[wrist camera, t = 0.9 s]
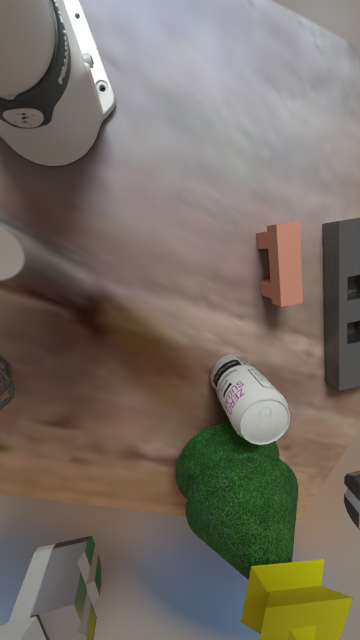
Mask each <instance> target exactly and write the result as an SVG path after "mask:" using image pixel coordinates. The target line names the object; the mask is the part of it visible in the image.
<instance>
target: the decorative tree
mask: <svg viewBox="0 0 360 640" xmlns="http://www.w3.org/2000/svg"><path fill="white" fill-rule="evenodd" d="M175 474H176V482H177V485H178V488H179V490H180V492H181V493H182V494H183V496H184V497H185V498H186V499H187V502H186V517H187V521H188V523H189V526H190V528H191V529H192V531H193V532H194V533H195V534H196V535H197V536H198V537H199V538H200V539H202V540H203V541H204V542H205V543H206V544H207V545H208V546H210V547H211V548H212V549H213V550H214V551H215V552H217V553H218V554H219V555H220V556H221V557H223V558H224V559H225V560H226V561H227V562H228V563H229V564H231V565H232V566H233V567H234V568H235V569H236V570H238V571H239V572H240V573H241V574H242V575H243V576H245V577H246V578H247V579H248V580H249V582H248V587H247V592H246V597H245V603H244V608H243V613H242V619H241V622H242V623H243V624H245V625H247V626H249V627H250V628H252V629H254V630H255V631H257V632H259V633H260V639H259V640H340V637H341V633H342V630H343V627H344V624H345V621H346V618H347V615H348V612H349V608H350V605H351V602H352V599H353V597H350V596H348V595H345V594H342V593H339V592H336V591H333V590H331V589H328V588H325V587H322V586H321V581H322V572H323V565H324V559H320V560H310V561H300V562H292V554H293V543H294V532H295V522H296V511H297V500H298V483H297V479H296V477H295V474H294V473H293V471H292V470H291V468H290V467H289V466H288V465H287V464H286V463H285V462H283V461H282V460H280V459H279V450H278V447H277V444H276V442H275V441H274V442H271V443H269V444H263V445H258V444H253V443H251V442H249V441H248V440H246V439H244V438H243V437H241V436H240V435H238V434H237V432H236V431H235V429H234V428H233V426H232V424H231V422H230V421H228V422H223V423H219V424H216V425H213V426H210V427H208V428H206V429H204V430H203V431H201V432H200V433H198V434H197V435H196V436H194V437H193V438H192V439H191V440H190V441H189V442H188V443H187V445H186V446H185V447H184V449H183V450H182V452H181V454H180V456H179V458H178V461H177V465H176V473H175Z"/></svg>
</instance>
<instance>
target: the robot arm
mask: <svg viewBox="0 0 360 640" xmlns="http://www.w3.org/2000/svg"><path fill="white" fill-rule="evenodd" d="M101 88H105V89H106V90H105V91H104V92H101V91H100V89H101ZM115 105H116V99H115V96H114V93H113V90H112V87H111V85H110V82H109V79H108V76H107V74H106V71H105V68H104V65H103V63H102V60H101V57H100V54H99V52H98V49H97V46H96V43H95V41H94V38H93V35H92V32H91V30H90V27H89V24H88V21H87V19H86V16H85V13H84V10H83V8H82V5H81V2H80V0H0V137H1V138H2V139H3V140H4V141H5V142H6V143H7V144H8V145H9V146H10V147H11V148H12V149H13V150H15V151H16V152H17V153H18V154H20V155H21V156H23V157H24V158H26V159H28V160H30V161H32V162H35V163H38V164H41V165H47V166H61V165H66V164H69V163H72V162H74V161H76V160H78V159H79V158H81V157H82V156H83V155H84V154H85V153H87V151H88V150H89V149H90V148H91V146H92V145H93V143H94V141H95V139H96V137H97V134H98V132H99V129H100V126H101V124H102V122H103V120H104V119H105V118H106V117H107V116H108V115H109V114H110V113H111V112H112V111H113V109H114V108H115ZM344 478H345V479H344V484H345V485H346V486H347V487H348V489H347V491H346V492H345V494H344V503H345V507H346V509H347V512H348V514H349V516H350V517H351V519H352V521H353V522H354V524H355V525H356V526H357V528H358V529H359V530H360V471H356V472H352V473H349V474H346V476H345V477H344ZM94 546H95V543H94V541H93V537H92V536H89V537H84V538H79V539H74V540H69V541H65V542H59V543H55V544H51V545H46V546H42V547H38V548H37V550H36V551H35V553H34V554H33V557H32V560H31V562H30V565H29V568H28V570H27V573H26V575H25V578H24V581H23V583H22V586H21V589H20V592H19V594H18V597H17V600H16V602H15V605H14V608H13V610H12V613H11V616H10V618H9V621H8V623H6V624H3V625H1V626H0V640H94V633H95V626H96V618H97V617H96V614H95V611H94V608H93V606H94V605H95V603H96V601H97V599H98V598H99V596H100V588H101V565H100V559H99V556H98V554H96V553H95V552H94Z"/></svg>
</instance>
